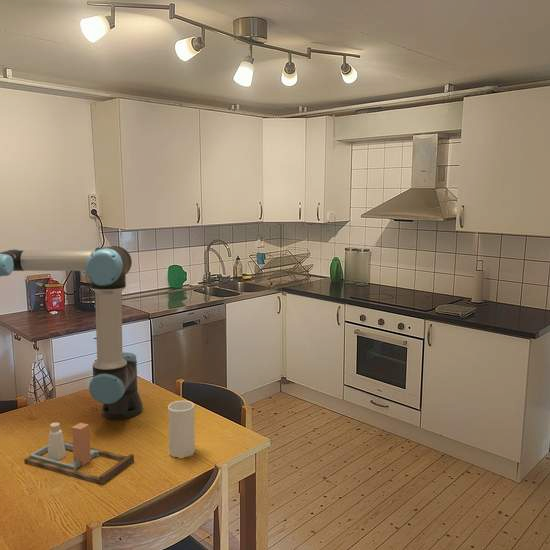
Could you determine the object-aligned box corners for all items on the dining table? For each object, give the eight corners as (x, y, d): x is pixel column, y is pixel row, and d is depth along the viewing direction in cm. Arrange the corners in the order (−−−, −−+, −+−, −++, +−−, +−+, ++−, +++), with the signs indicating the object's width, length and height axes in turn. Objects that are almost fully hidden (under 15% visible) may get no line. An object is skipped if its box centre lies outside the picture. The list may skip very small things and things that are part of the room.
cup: (170, 446, 169) (169, 400, 167) (195, 445, 170) (194, 400, 167) (167, 458, 161) (166, 411, 159) (194, 458, 162) (193, 410, 159)
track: (134, 461, 159) (133, 454, 159) (103, 484, 146) (102, 477, 146) (59, 443, 171) (59, 436, 170) (24, 462, 158) (24, 455, 158)
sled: (98, 455, 162) (97, 420, 160) (74, 471, 153) (71, 434, 151) (55, 444, 169) (53, 410, 167) (29, 459, 160) (26, 423, 158)
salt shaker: (48, 462, 159) (46, 429, 157) (47, 454, 163) (44, 422, 162) (66, 458, 161) (64, 425, 159) (65, 450, 166) (63, 418, 164)
